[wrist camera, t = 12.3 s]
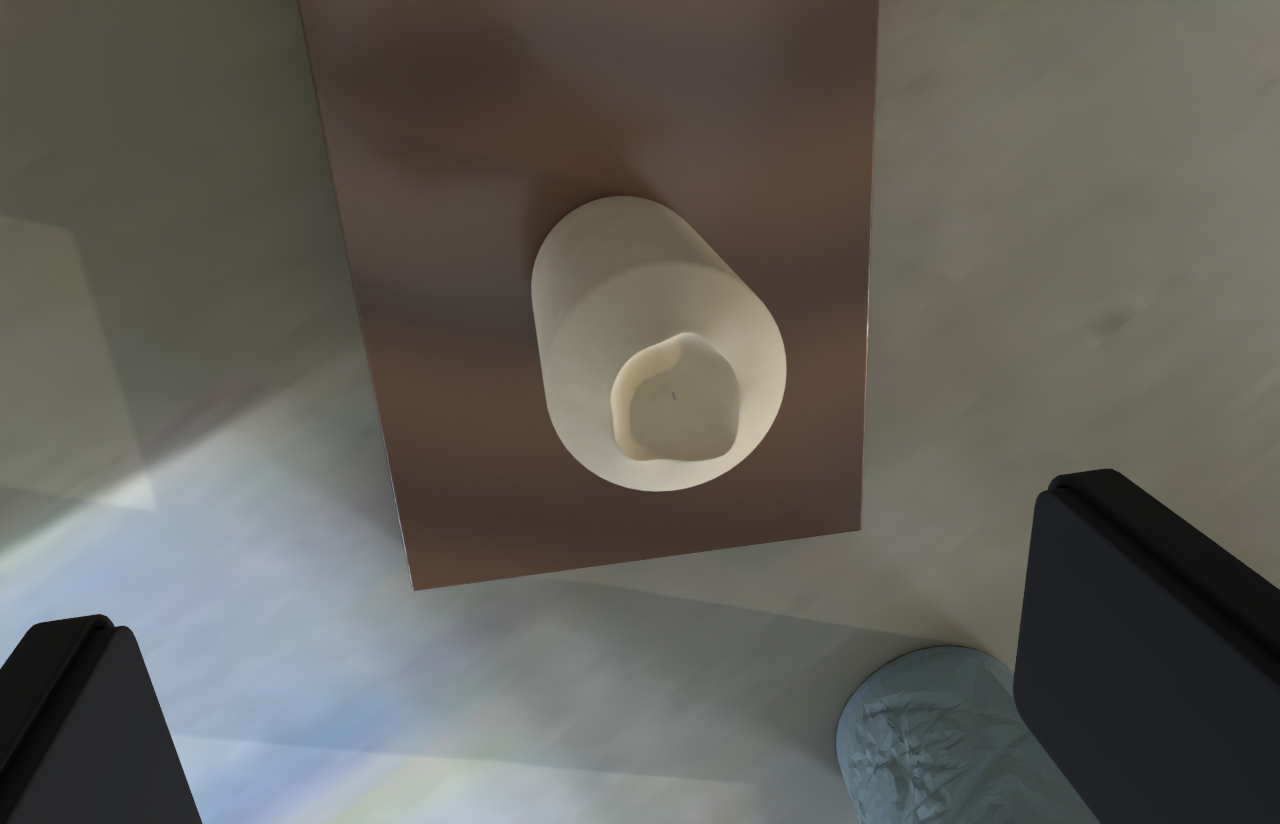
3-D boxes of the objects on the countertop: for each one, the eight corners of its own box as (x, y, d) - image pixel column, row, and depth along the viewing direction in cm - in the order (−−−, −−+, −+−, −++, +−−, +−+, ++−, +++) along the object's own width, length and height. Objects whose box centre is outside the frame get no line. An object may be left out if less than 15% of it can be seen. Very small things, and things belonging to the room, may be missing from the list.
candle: (742, 289, 29) (855, 412, 20) (610, 400, 30) (662, 567, 21) (631, 153, 27) (700, 223, 18) (492, 277, 28) (492, 403, 19)
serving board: (302, -55, 26) (284, -62, 24) (851, -90, 28) (883, -99, 26) (417, 554, 34) (411, 592, 32) (839, 498, 36) (862, 530, 34)
